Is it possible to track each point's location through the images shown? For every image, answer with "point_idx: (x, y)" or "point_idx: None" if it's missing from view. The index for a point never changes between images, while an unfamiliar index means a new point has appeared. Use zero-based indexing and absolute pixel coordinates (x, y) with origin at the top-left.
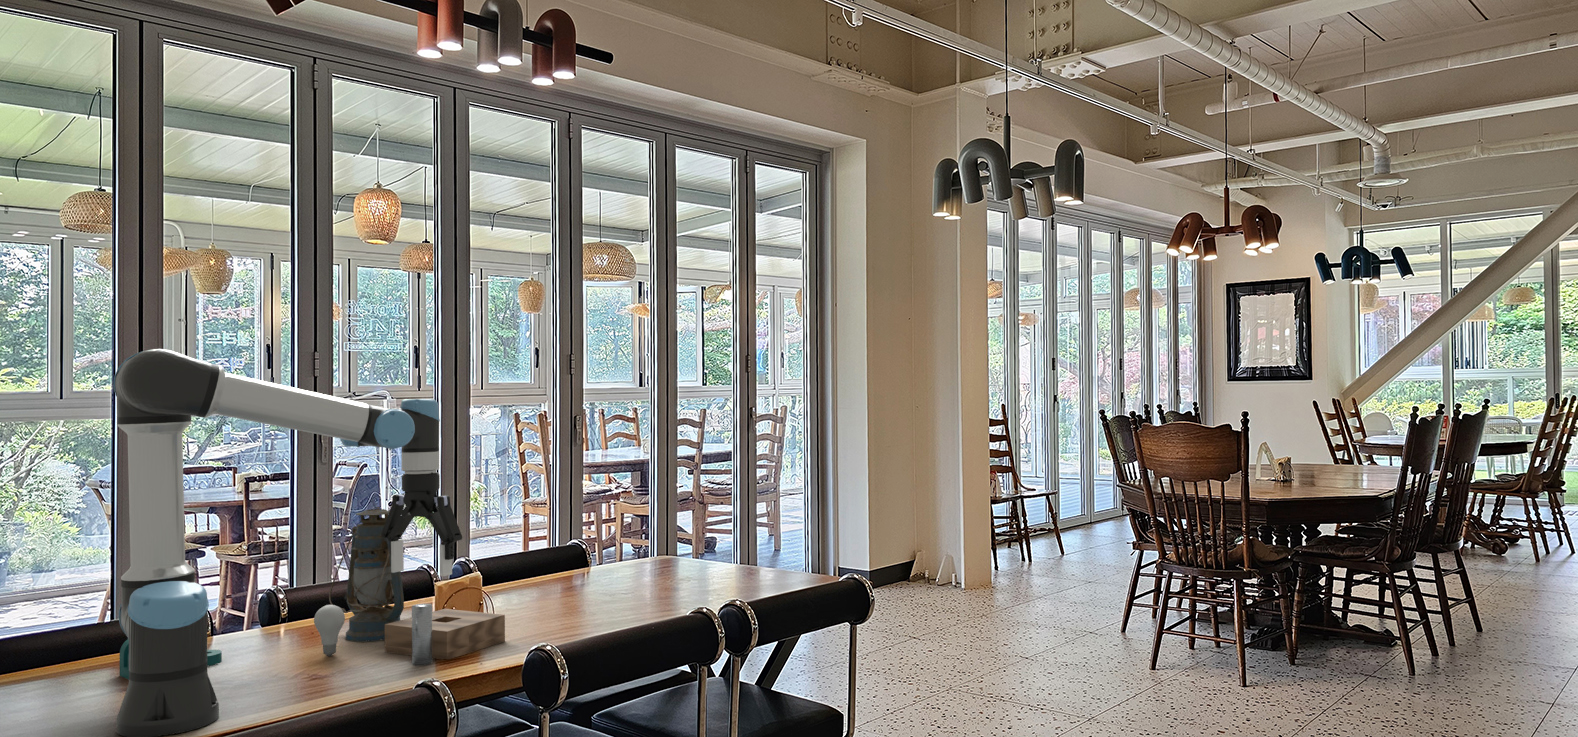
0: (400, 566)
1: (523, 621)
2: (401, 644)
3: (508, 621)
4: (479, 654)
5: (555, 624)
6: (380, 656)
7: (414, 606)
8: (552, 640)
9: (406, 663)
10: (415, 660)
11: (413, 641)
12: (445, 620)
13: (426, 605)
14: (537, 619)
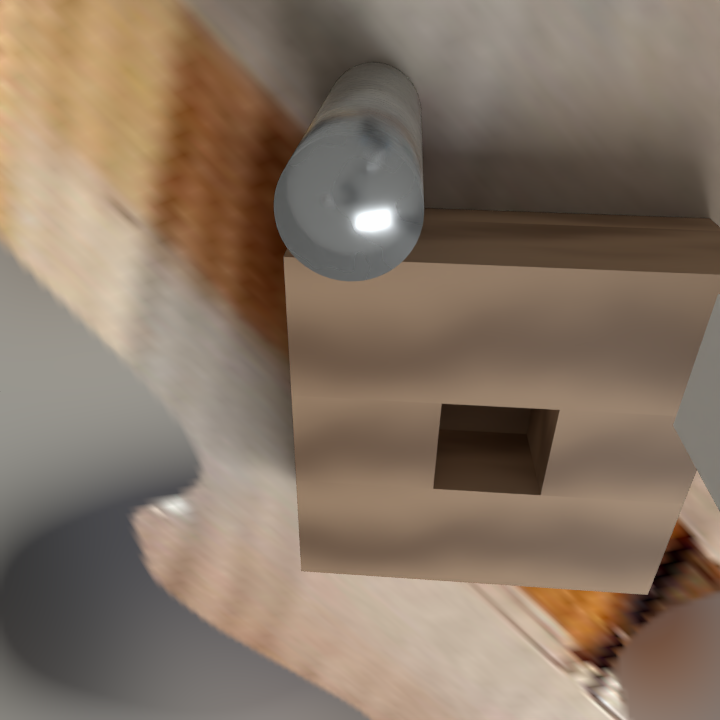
0: (706, 420)
1: (455, 676)
2: (607, 231)
3: (504, 668)
4: (253, 323)
5: (328, 668)
6: (680, 143)
7: (377, 162)
8: (175, 536)
9: (448, 80)
10: (370, 67)
11: (381, 87)
12: (536, 480)
13: (317, 226)
14: (429, 697)
